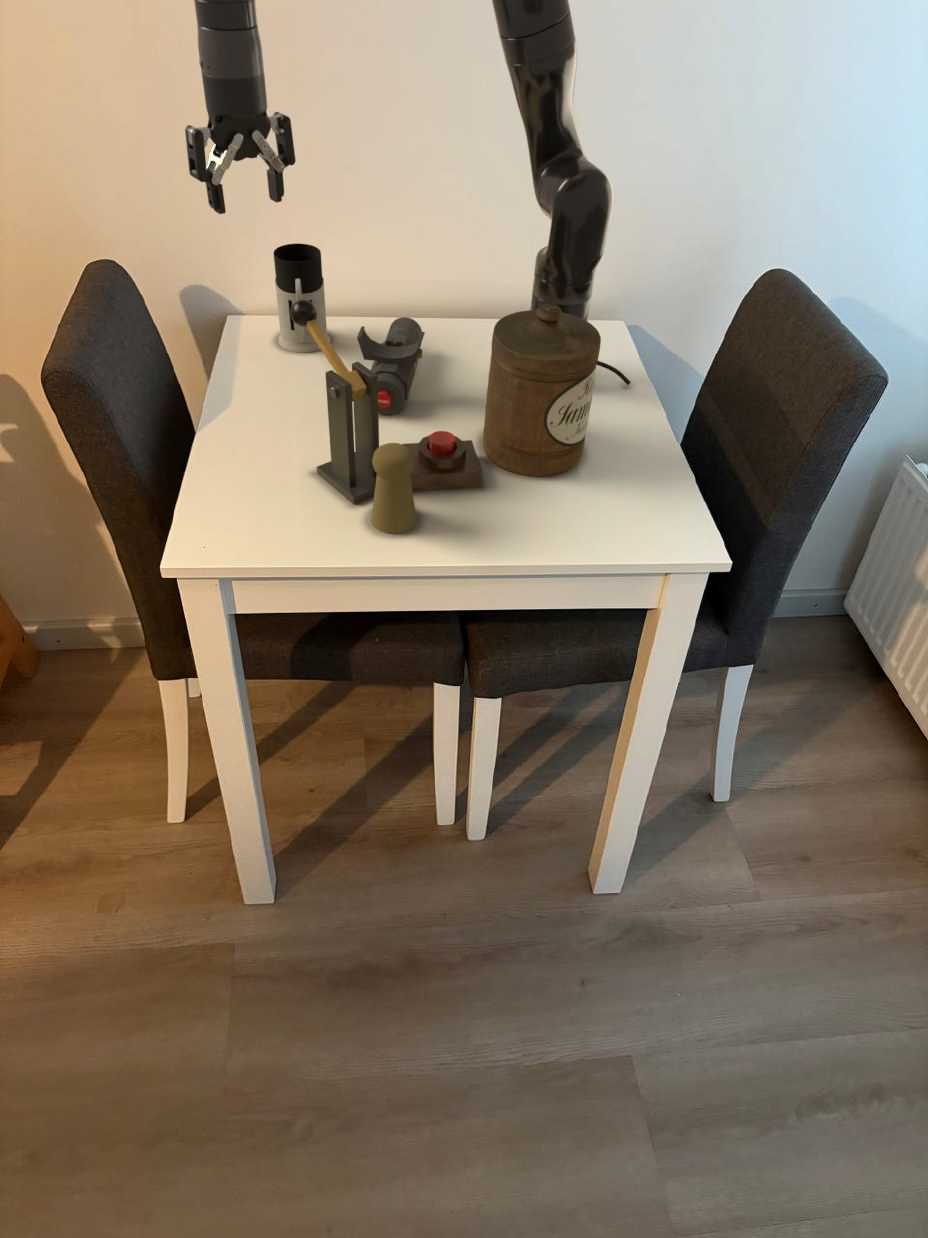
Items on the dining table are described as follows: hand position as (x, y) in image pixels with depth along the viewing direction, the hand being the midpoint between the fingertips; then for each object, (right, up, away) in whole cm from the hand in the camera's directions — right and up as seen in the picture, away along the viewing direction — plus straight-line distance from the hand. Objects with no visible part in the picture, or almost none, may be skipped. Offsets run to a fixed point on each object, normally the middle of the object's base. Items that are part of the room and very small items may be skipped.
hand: (248, 206), depth 120 cm
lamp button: (+26, -32, +3) cm, 41 cm away
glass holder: (+2, -10, +31) cm, 33 cm away
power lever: (+11, -21, -4) cm, 24 cm away
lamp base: (+26, -35, +6) cm, 44 cm away
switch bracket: (+14, -36, +4) cm, 39 cm away
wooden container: (+39, -31, +12) cm, 51 cm away
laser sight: (+18, -18, +24) cm, 35 cm away
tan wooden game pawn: (+20, -43, -2) cm, 47 cm away
